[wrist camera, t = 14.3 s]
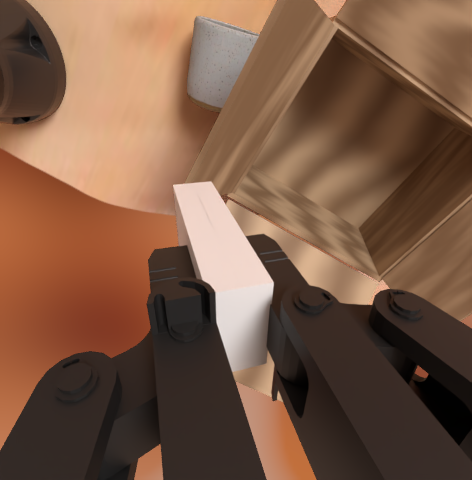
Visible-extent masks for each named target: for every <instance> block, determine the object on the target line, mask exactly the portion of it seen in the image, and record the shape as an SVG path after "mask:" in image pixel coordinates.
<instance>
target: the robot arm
mask: <svg viewBox="0 0 472 480" xmlns="http://www.w3.org/2000/svg"><path fill="white" fill-rule="evenodd" d="M65 87H66V71H65V65H64V60H63V56H62V53H61V50H60V47H59V45H58V43H57V41H56V38H55V36H54V35H53V33H52V31H51V29H50V28H49V26H48V25H47V23H46V22H45V21H44V19H43V18H42V17H41V15H40V14H39V13H38V12H37V11H36V10H35V9H34V8H33V7H32V6H31V5H30V4H29V3H28V2H27V1H26V0H0V122H1V123H9V124H28V123H32V122H35V121H38V120H41V119H44V118H46V117H48V116H49V115H51V114H52V113H53V112H54V111H55V110H56V109H57V108H58V106H59V105H60V103H61V101H62V99H63V96H64V92H65ZM173 192H174V202H175V212H176V222H177V232H178V243H179V246H177V247H170V248H163V249H155V250H154V251H153V253H152V254H151V256H150V258H149V259H148V263H149V276H150V289H151V294H149V297H148V301H147V308H148V314H149V319H150V325H151V329H150V331H149V333H148V334H147V336H146V337H145V338H144V339H143V340H142V341H141V342H140V343H139V344H137V345H136V346H135V347H133V348H131V349H129V350H128V351H126V352H124V353H122V354H119V355H117V356H115V357H113V358H110V357H108V356H107V355H105V354H104V353H99V352H92V351H89V352H83V353H78V354H74V355H72V356H70V357H68V358H65V359H63V360H61V361H60V362H58V363H57V364H56V365H54V366H53V367H52V368H51V369H49V370H48V371H47V372H46V373H45V375H44V376H43V377H42V379H41V380H40V381H39V382H38V384H37V385H36V387H35V389H34V391H33V393H32V394H31V396H30V398H29V400H28V402H27V404H26V405H25V407H24V409H23V411H22V413H21V414H20V416H19V418H18V420H17V421H16V423H15V425H14V427H13V429H12V430H11V432H10V434H9V436H8V438H7V440H6V441H5V443H4V445H3V447H2V448H1V450H0V480H134V477H135V472H136V467H137V462H138V458H140V457H141V456H143V455H144V454H145V453H147V452H149V451H150V450H152V449H153V448H155V447H156V446H158V445H159V444H161V452H162V467H163V480H267V479H266V477H265V473H264V470H263V467H262V464H261V461H260V458H259V454H258V451H257V448H256V445H255V442H254V439H253V436H252V432H251V429H250V426H249V423H248V420H247V417H246V414H245V410H244V407H243V404H242V401H241V398H240V395H239V392H238V388H237V385H236V382H235V379H234V376H233V373H232V372H234V371H239V370H243V369H247V368H251V367H255V366H259V365H263V364H266V363H267V352H268V351H269V353H270V356H271V358H272V360H273V362H274V372H273V381H272V390H271V394H272V399H273V401H275V400H277V395H278V391H279V393H280V395H281V398H282V400H283V402H284V405H285V407H286V409H287V412H288V414H289V416H290V419H291V421H292V423H293V425H294V428H295V430H296V433H297V435H298V437H299V440H300V442H301V444H302V446H303V449H304V451H305V454H306V456H307V458H308V460H309V463H310V465H311V467H312V470H313V472H314V474H315V477H316V479H317V480H472V329H471V328H470V327H468V326H467V325H465V324H464V323H462V322H460V321H459V320H457V319H456V318H454V317H452V316H451V315H449V314H448V313H446V312H444V311H443V310H441V309H440V308H438V307H436V306H435V305H433V304H432V303H430V302H428V301H427V300H425V299H424V298H422V297H420V296H418V295H416V294H414V293H411V292H407V291H404V290H399V289H387V290H383V291H380V292H379V293H378V294H376V295H375V298H374V301H373V304H372V305H361V304H346V303H340V302H339V301H338V300H337V298H335V297H334V296H333V295H332V294H331V293H330V292H328V291H326V290H324V289H322V288H320V287H316V286H311V285H309V284H308V282H307V281H306V280H305V279H304V277H303V276H302V275H301V273H300V272H299V271H298V269H297V268H296V267H295V266H294V264H293V263H292V262H291V260H290V259H288V256H287V255H286V254H285V252H284V251H282V249H281V247H280V246H279V245H278V243H277V242H276V241H275V240H274V239H272V238H270V237H269V236H267V235H265V234H257V235H250V236H245V235H244V233H243V232H242V230H241V229H240V227H239V225H238V224H237V222H236V220H235V219H234V217H233V216H232V214H231V212H230V211H229V209H228V208H227V206H226V204H225V203H224V201H223V199H222V198H221V196H220V195H219V193H218V191H217V190H216V188H215V187H214V185H213V183H212V182H211V181H210V182H199V183H187V184H176V185H173ZM418 365H419V366H420V367H421V368H422V369H423V370H425V371H426V372H427V373H428V374H429V375H428V377H427V378H423V377H420V376H418V375H416V374H415V370H416V368H417V366H418Z"/></svg>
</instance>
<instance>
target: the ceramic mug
mask: <svg viewBox="0 0 472 480" xmlns="http://www.w3.org/2000/svg"><path fill="white" fill-rule="evenodd" d="M258 37H259V34H257V33H254V32H252V31H249V30H245V29H243V28H240V27H237V26H234V25H231V24H229V23H225V22H221V21H218V20H215V19H211V18H208V17H202V16H197V17H196V18H195V21H194V30H193V38H192V45H191V53H190V63H189V70H188V77H187V93H188V96H189V98H190V100H191V101H192V102H193V103H195V104H196V105H198V106H200V107H202V108H205V109H207V110H210V111H214V112H218V113H220V112H221V110H222V108H223V106H224V104H225V102H226V100H227V98H228V96H229V94H230V92H231V90H232V88H233V86H234V84H235V82H236V80H237V78H238V76H239V74H240V72H241V71H242V69H243V67H244V65H245V63H246V61H247V59H248V57H249V55H250V53H251V51H252V49H253V47H254V45H255V43H256V41H257V39H258Z"/></svg>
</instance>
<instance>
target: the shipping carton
mask: <svg viewBox="0 0 472 480" xmlns="http://www.w3.org/2000/svg"><path fill="white" fill-rule="evenodd" d="M210 181H211V182H212V183H213V185H214V187H215V188H216V190H217V191H218V193H219V195H225V194H227V196H228V197H230V198H232V199H234V200H235V201H237V202H239V203H241V204H242V205H244V206H246V207H248V208H249V209H251V210H253V211H255V212H257V213H258V214H260V215H262V216H264V217H265V218H267V219H269V220H271V221H273V222H274V223H276V224H278V225H280V226H282V227H283V228H285V229H287V230H289V231H291V232H292V233H294V234H296V235H297V236H299V237H301V238H303V239H305V240H306V241H308V242H310V243H312V244H313V245H315V246H317V247H319V248H321V249H322V250H324V251H326V252H328V253H330V254H331V255H333V256H335V257H336V258H338V259H340V260H342V261H344V262H345V263H347V264H349V265H351V266H353V267H355V268H356V269H358V270H360V271H361V272H363V273H365V274H367V275H368V276H370V277H372V278H374V279H375V280H377V281H379V282H380V281H381V280H382V279H383V280H384V282H385V283H386V284H387V285H388V287H389V288H390V289H399V290H404V291H407V292H411V293H414V294H416V295H418V296H420V297H422V298H424V299H425V300H427V301H428V302H430V303H432V304H433V305H435V306H436V307H438V308H440V309H441V310H443V311H444V312H446V313H448V314H449V315H451V316H452V317H454V318H456V319H457V320H459V321H462V320H463V319H465V318H466V317H468V316H469V315H471V314H472V0H346V2H345V3H344V5H343V6H342V8H341V9H340V11H339V12H338V14H337V16H334V17H331V18H328V17H327V15H326V14H325V13H324V12H323V10H322V9H321V8H320V7H319V6H318V4H317V3H316V2H315V1H314V0H277V2H276V3H275V5H274V7H273V9H272V11H271V13H270V15H269V17H268V19H267V21H266V23H265V25H264V27H263V29H262V31H261V33H260V35H259V37H258V39H257V41H256V43H255V45H254V47H253V49H252V51H251V53H250V55H249V57H248V59H247V61H246V63H245V65H244V67H243V69H242V71H241V72H240V74H239V76H238V78H237V80H236V82H235V84H234V86H233V88H232V90H231V92H230V94H229V96H228V98H227V100H226V102H225V104H224V106H223V108H222V110H221V112H220V114H219V116H218V118H217V120H216V122H215V124H214V126H213V128H212V130H211V132H210V134H209V136H208V138H207V140H206V141H205V143H204V145H203V147H202V149H201V151H200V153H199V155H198V157H197V159H196V161H195V163H194V165H193V167H192V169H191V171H190V173H189V175H188V177H187V179H186V181H185V183H184V184H187V183H199V182H210Z"/></svg>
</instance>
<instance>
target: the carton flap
mask: <svg viewBox="0 0 472 480" xmlns="http://www.w3.org/2000/svg"><path fill="white" fill-rule="evenodd" d="M226 206H227V208H228V209H229V211H230V212H231V214H232V216H233V217H234V219H235V220H236V222H237V224H238V225H239V227H240V229H241V230H242V232H243V233H244V235H245V236H250V235H257V234H265V235H267V236H269V237H270V238H272V239H274V240H275V241H276V242H277V243H278V245H279V246H280V247H281V249H282V251H284V252H285V254H286V255H287V256H288V259H290V260H291V262H292V263H293V264H294V266H295V267H296V268H297V269H298V271H299V272H300V273H301V275H302V276H303V277H304V279H305V280H306V281H307V282H308V284H309V285H311V286H316V287H320V288H322V289H324V290H326V291H328V292H330V293H331V294H332V295H333V296H334V297H335V298H337V300H338V301H339V302H340V303H346V304H361V305H368V304H369V302H370V300H371V298H372V296H373V294H374V292H375V290H376V288H377V286H378V284H379V283H377V282H375V281H374V280H372V279H370V278H368V277H366V276H365V275H363V274H361V273H359V272H358V271H356V270H354V269H352V268H350V267H348V266H347V265H345V264H343V263H342V262H340V261H338V260H336V259H334V258H333V257H331V256H329V255H327V254H325V253H324V252H322V251H320V250H318V249H317V248H314V247H313V246H311V245H309V244H308V243H306V242H304V241H302V240H301V239H299V238H297V237H295V236H293V235H292V234H290V233H288V232H286V231H285V230H283V229H281V228H279V227H277V226H275V225H274V224H272V223H270V222H268V221H267V220H265V219H263V218H261V217H260V216H258V215H256V214H254V213H253V212H251V211H249V210H247V209H245V208H244V207H242V206H240V205H238V204H236V203H235V202H233V201H231V200H229V199H228V200H227V202H226ZM273 372H274V362H273V360H272V358H271V356H270V353H269V351H268V352H267V363H266V364H263V365H259V366H255V367H251V368H247V369H243V370H239V371H234V372H232V373H233V376H234V379H235V381H236V382H239V383H241V384H243V385H245V386H248V387H250V388H252V389H254V390H257V391H259V392H261V393H264V394H266V395H268V396H271V397H272V394H271V390H272V381H273ZM277 400H280V401H282V402H283V400H282V398H281V395H280V393H279V391H278V395H277Z"/></svg>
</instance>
